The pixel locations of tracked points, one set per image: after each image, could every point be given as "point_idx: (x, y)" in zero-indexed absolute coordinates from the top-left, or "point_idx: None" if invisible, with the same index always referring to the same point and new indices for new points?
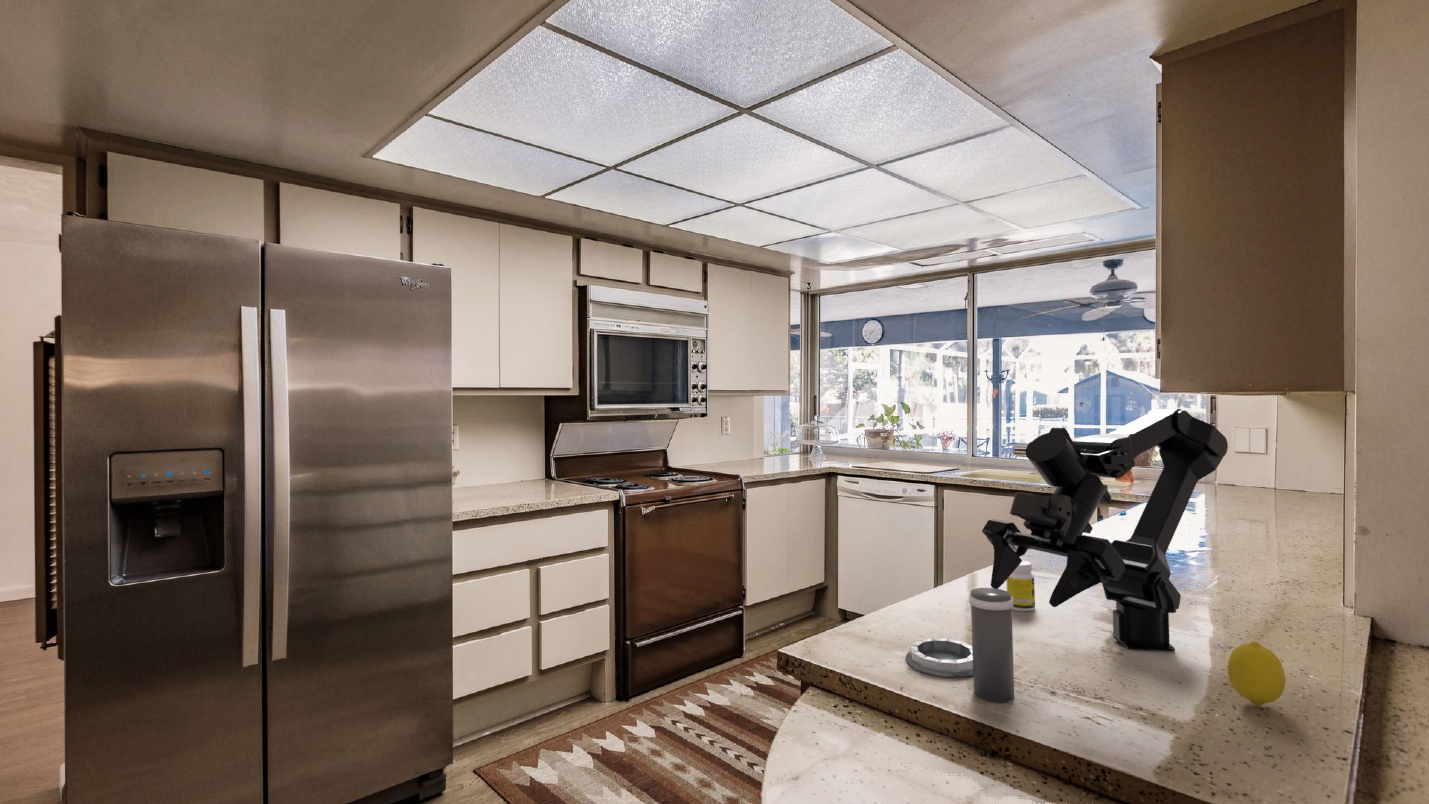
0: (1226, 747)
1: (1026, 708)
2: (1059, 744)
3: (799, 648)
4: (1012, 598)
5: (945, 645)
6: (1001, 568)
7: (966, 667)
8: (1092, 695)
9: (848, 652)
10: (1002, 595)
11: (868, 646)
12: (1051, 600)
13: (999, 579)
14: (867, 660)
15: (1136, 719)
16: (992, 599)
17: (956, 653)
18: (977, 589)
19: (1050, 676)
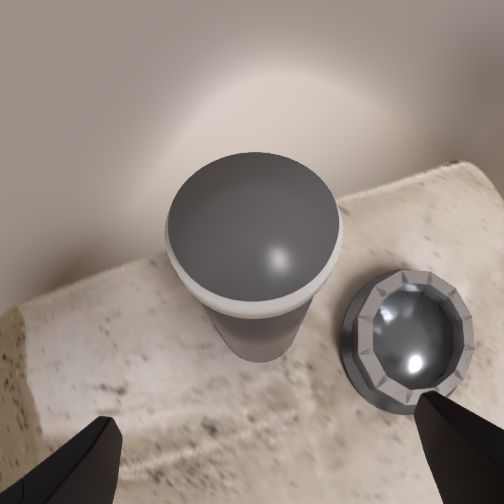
0: (11, 445)
1: (191, 334)
2: (102, 283)
3: (485, 179)
4: (180, 272)
5: (451, 369)
6: (473, 465)
7: (354, 340)
8: (169, 476)
9: (472, 222)
10: (201, 230)
11: (489, 261)
12: (100, 421)
13: (437, 439)
14: (445, 227)
15: None
16: (195, 175)
17: (428, 382)
18: (325, 207)
19: (266, 484)
